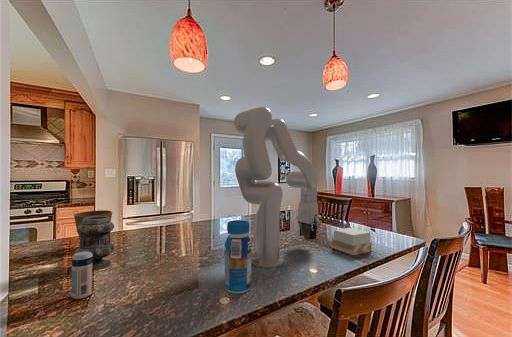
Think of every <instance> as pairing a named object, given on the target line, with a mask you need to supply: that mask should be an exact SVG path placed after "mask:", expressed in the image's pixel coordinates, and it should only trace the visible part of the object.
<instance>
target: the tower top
mask: <svg viewBox="0 0 512 337" xmlns="http://www.w3.org/2000/svg"><path fill="white" fill-rule="evenodd" d="M333 239H334V240H337V241H340V242H343V243H346V244H349V245H352V246H354V245H360V244H365V243H370V242H371V232H369V231H366V230H362V229H357V228H353V227H345V228H338V229H333Z"/></svg>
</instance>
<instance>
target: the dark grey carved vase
mask: <svg viewBox="0 0 512 337" xmlns="http://www.w3.org/2000/svg"><path fill="white" fill-rule="evenodd" d="M114 227H115V224H114V223H113V222H112V221H111V222H110V219H109V217H108V216H93V217H86V218H83V220H82V224H80V225H79V226H78V227H77V228H76V233H77V234H80V238H79V246H78V248H77V249H76V250H75V253H78V252H83V251H90V252H91V253H92V255H93V268H92V271H96V270H101V269H103V268H106V267H108V266H110V265H111V263H112V262H111V261H110V260H109V259H105V258H106V257H108V256H110V255H111V254H112V253H113V252H114V250H115V246H114V244H113V243H112V242H111V232H112V231H113V230H114V229H115V228H114ZM75 253H74V254H75Z"/></svg>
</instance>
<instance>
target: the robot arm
mask: <svg viewBox="0 0 512 337" xmlns="http://www.w3.org/2000/svg"><path fill="white" fill-rule="evenodd" d="M233 125H234V129H236V131H237V132H238V133H240V134H241V135H243V137H242V150H243V153H244V156H243V157H240V158H239V159H238V160H237V161H236V164H235V166H234V167H235V168H234V173H235V177H236V181H237V183H238V185H239V186H238V187H239V189H240V190H239V191H240V192H241V195H242V197H243V199H244V201H246V202H247V203H249V204H253V205H258V209H257V211H256V214H255V248H254V249H253V250H252V256H251V265H253V266H255V267H257V268H258V267H259V268H263V269H264V268H265V269H275V268H279V267H281V266H283V264H284V263H285V262H284V258H283V257H282V256H280V255H281V253H280V252H281V250H280V246H281V243H280V242H281V241H280V240H281V230H280V229H281V223H280V222H281V221H280V220H281V218H280V217H281V206H282V200H283V196H284V195H283V193H284V192H283V189H282V187H281V185H280V184H278V183H277V182H274V181H268V179H269V178H271V176H272V175H273V174H272V173H273V170H272V163H271V160H270V157H269V154H268V150H267V146H266V141H270V142H271V144H272V146H273V148H274V150H275V153H276V155H277V157H278V159H280V160H282V161H283V162H286V163H288V164H291V165H293V166H295V168H296V167H297V168H298V169H299V170H300V171H291V172H289V173H287V176H286V180H285V181H286V184H287V185H288V186H289V187H290V188H292V189H293V188H294V189H300V201H299V203H298V209H297V216H296V220H297V223H298V227H299V236H300V237H301V236H302V237H304V236H303V235H302V234H301V228H300V223H301V224H302V223H305V224H310V226H311V230H310V239H312V240H317V233H318V232H317V231H318V229H320V226H321V225H322V222H321V220H320V219H319V206H318V183H319V182H318V181H319V178H318V173H317V171H316V169H315V166H314V164H313V163H312V161H311V160H310V159H309V158H308V157H307V156H306V155H305V154H304V153H303V152H301V151H300V150H298V148H297V146H296V145H295V142H294V140H293V138H292V135H291V133H290V131H289V128H288V125H287V124H286V122H285V120H283V119H281V118H273V114H272V111H271V109H270V108H267V107H266V106H260V107H254V108H251V109H248V110H245V111H241V112H239V113H238V114H236V116H235V117H234V119H233ZM266 180H267V181H266ZM313 225H315V226H314V227H313Z"/></svg>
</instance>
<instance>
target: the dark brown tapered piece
mask: <svg viewBox="0 0 512 337" xmlns="http://www.w3.org/2000/svg"><path fill="white" fill-rule="evenodd" d="M314 226H315V225H313V227H314ZM300 228H301V234H302V235H303V236H302V237H303V240H304V241H307V242H311V241H312V240H313V239H310V230H311V226H310V224H305V223H302V224H301V223H300V227H299V229H300Z"/></svg>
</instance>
